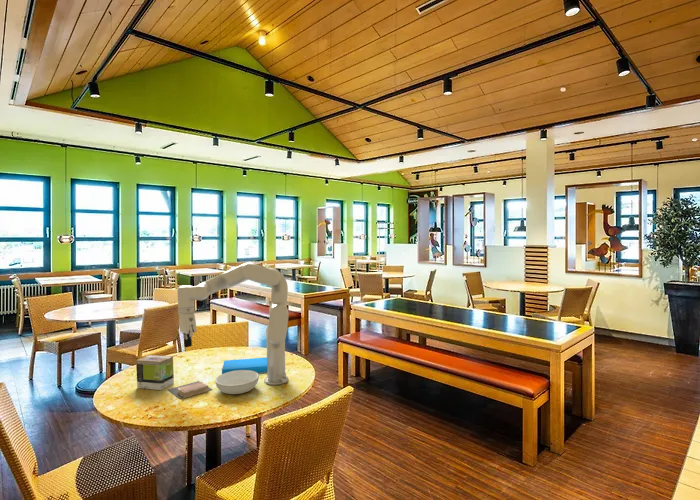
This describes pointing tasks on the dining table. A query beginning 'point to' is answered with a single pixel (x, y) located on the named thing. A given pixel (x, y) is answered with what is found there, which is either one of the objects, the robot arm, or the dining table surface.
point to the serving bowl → (237, 381)
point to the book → (245, 365)
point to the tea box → (155, 372)
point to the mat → (175, 390)
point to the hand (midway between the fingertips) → (188, 346)
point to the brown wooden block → (192, 389)
